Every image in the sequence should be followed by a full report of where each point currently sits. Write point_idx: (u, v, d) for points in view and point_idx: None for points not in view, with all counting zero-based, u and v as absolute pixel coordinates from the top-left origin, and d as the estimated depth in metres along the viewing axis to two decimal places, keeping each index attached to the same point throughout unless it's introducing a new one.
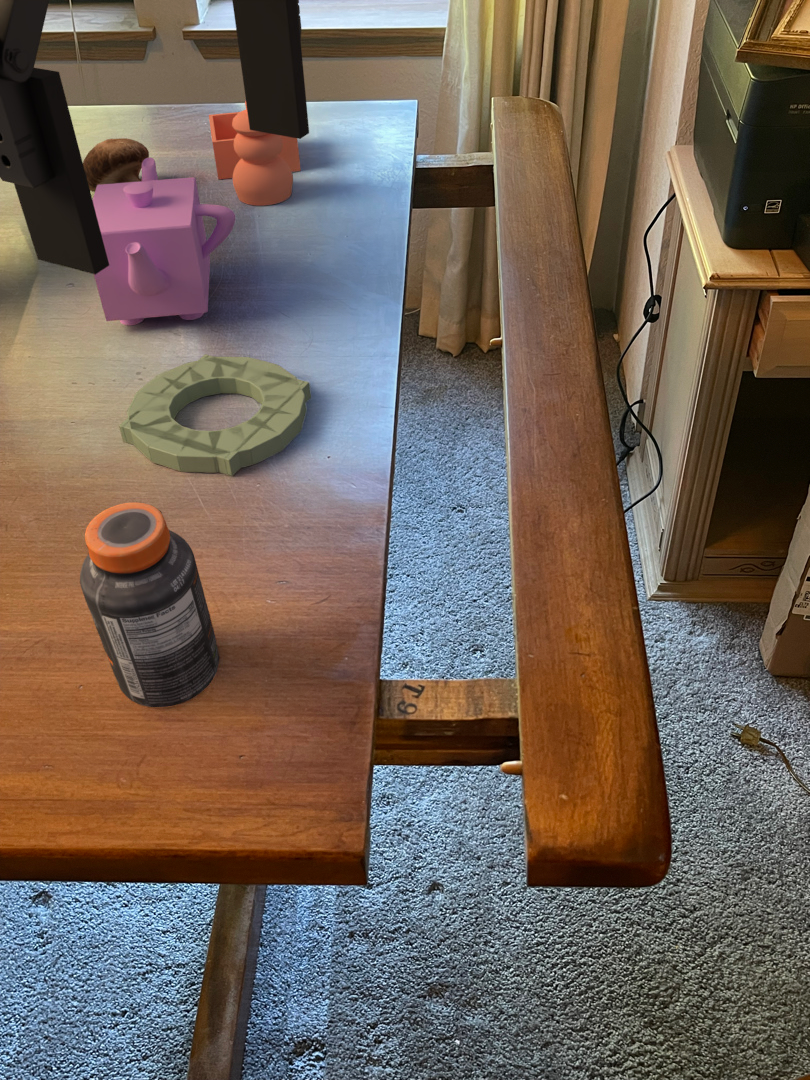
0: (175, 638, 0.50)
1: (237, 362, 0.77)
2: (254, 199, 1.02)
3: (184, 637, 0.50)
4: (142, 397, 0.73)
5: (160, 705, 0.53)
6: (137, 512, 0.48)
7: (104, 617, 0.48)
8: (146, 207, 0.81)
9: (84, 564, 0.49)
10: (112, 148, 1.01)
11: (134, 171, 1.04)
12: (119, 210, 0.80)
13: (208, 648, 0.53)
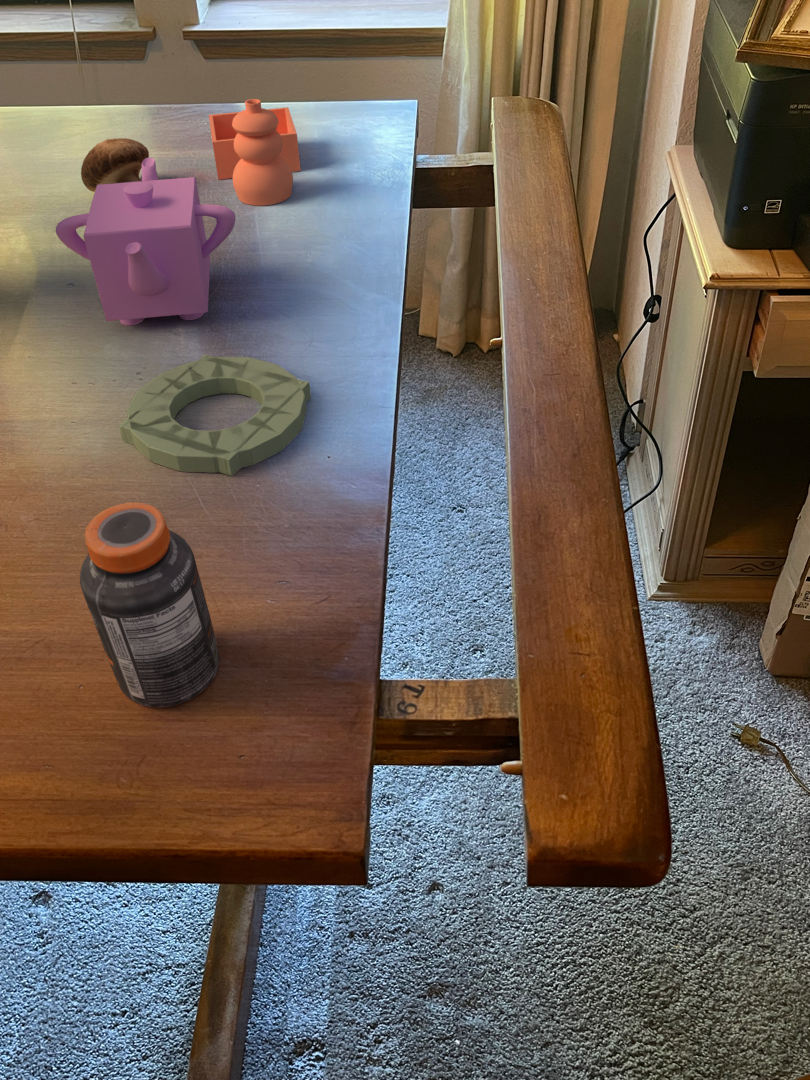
0: (175, 638, 0.50)
1: (237, 362, 0.77)
2: (254, 199, 1.02)
3: (184, 637, 0.50)
4: (142, 397, 0.73)
5: (160, 705, 0.53)
6: (137, 512, 0.48)
7: (104, 617, 0.48)
8: (146, 207, 0.81)
9: (84, 564, 0.49)
10: (112, 148, 1.01)
11: (134, 171, 1.04)
12: (119, 210, 0.80)
13: (208, 648, 0.53)
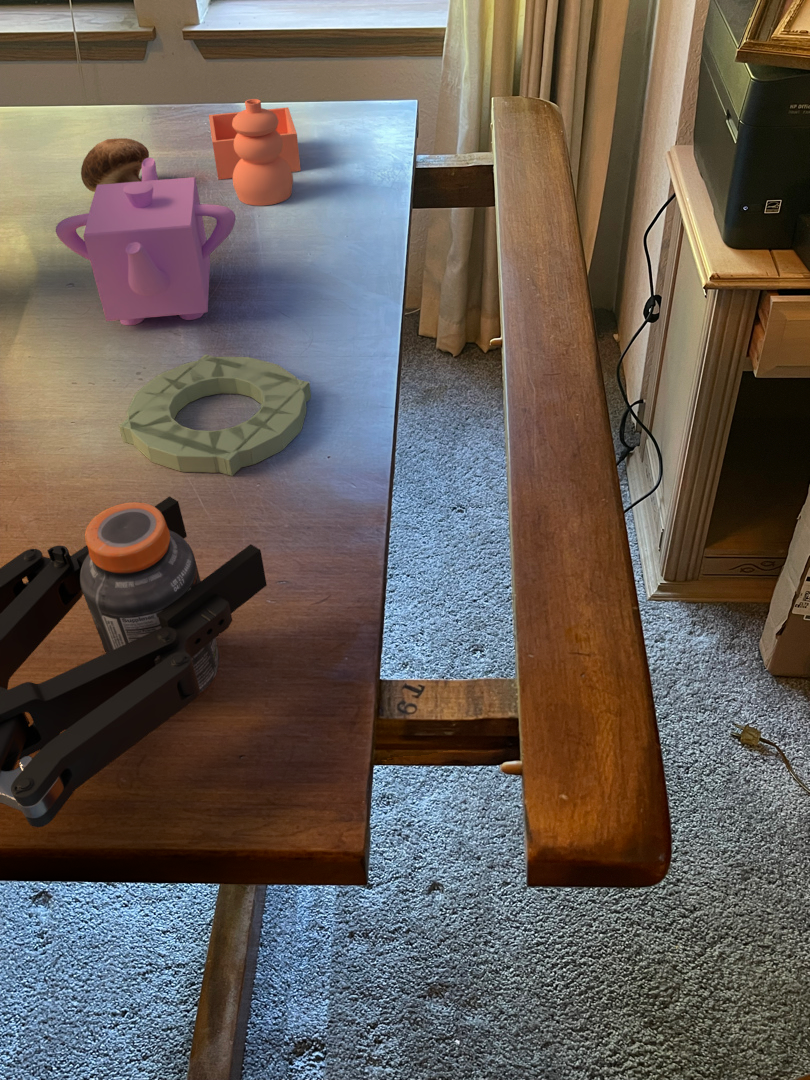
0: None
1: (237, 362, 0.77)
2: (254, 199, 1.02)
3: None
4: (142, 397, 0.73)
5: None
6: (138, 512, 0.48)
7: (104, 617, 0.48)
8: (146, 207, 0.81)
9: (84, 564, 0.49)
10: (112, 148, 1.01)
11: (134, 171, 1.04)
12: (119, 210, 0.80)
13: (208, 648, 0.53)
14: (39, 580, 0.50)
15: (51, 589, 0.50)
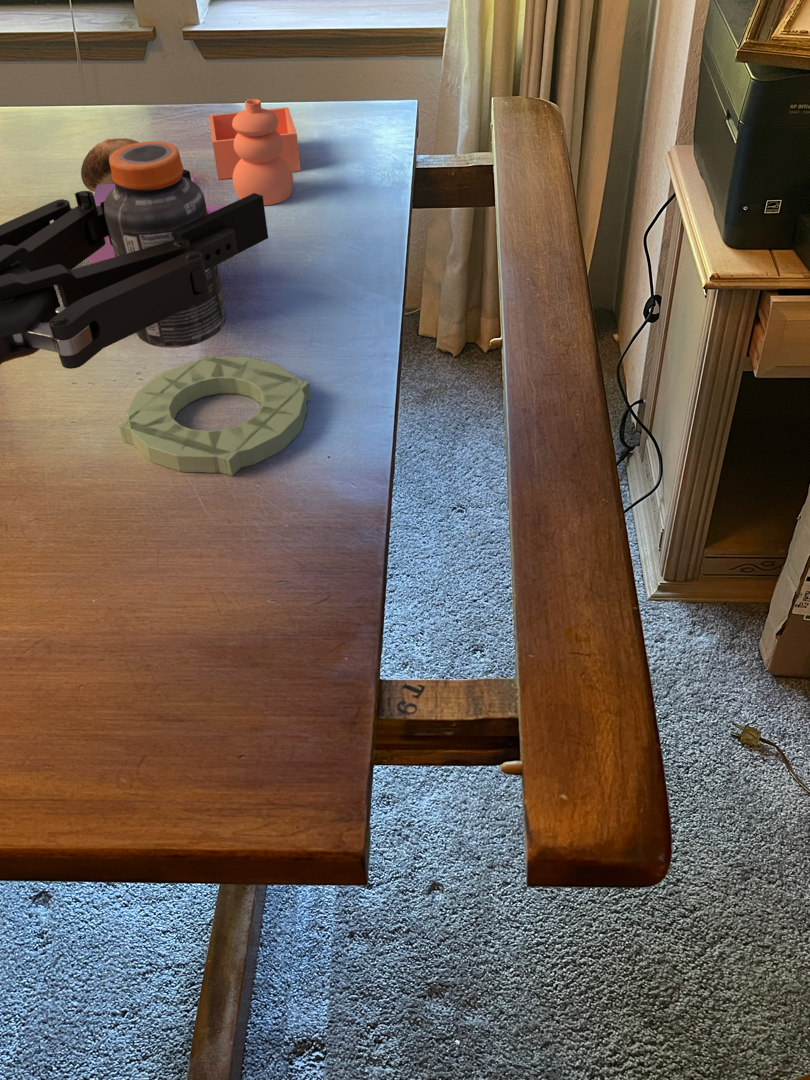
0: None
1: (237, 362, 0.77)
2: None
3: None
4: (142, 397, 0.73)
5: (173, 344, 0.59)
6: (155, 145, 0.55)
7: (125, 237, 0.55)
8: None
9: None
10: (112, 148, 1.01)
11: None
12: None
13: (216, 293, 0.59)
14: (67, 216, 0.57)
15: (78, 222, 0.56)
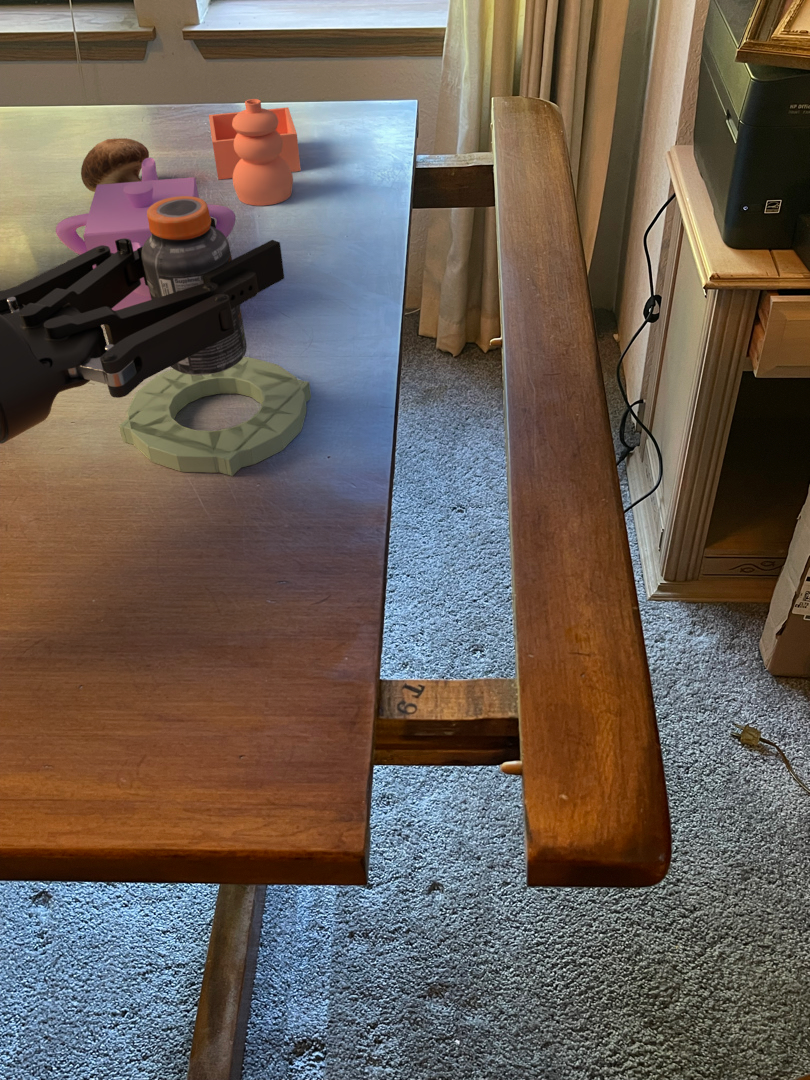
0: None
1: None
2: (254, 199, 1.02)
3: None
4: (142, 397, 0.73)
5: (201, 371, 0.67)
6: (186, 200, 0.63)
7: (160, 280, 0.63)
8: (146, 207, 0.81)
9: (145, 243, 0.63)
10: (112, 148, 1.01)
11: (134, 171, 1.04)
12: (119, 210, 0.80)
13: (238, 327, 0.67)
14: (109, 261, 0.64)
15: (119, 267, 0.64)
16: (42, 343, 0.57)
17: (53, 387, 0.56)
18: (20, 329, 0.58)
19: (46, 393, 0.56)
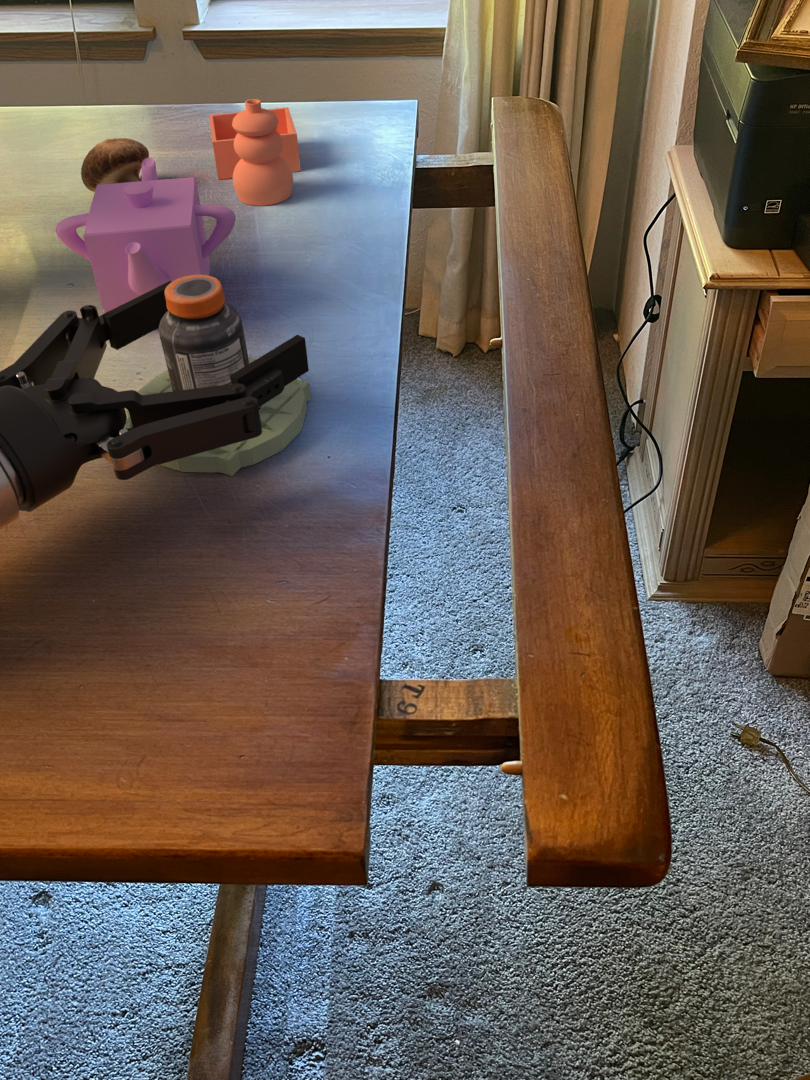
0: (227, 376, 0.68)
1: None
2: (254, 199, 1.02)
3: None
4: None
5: None
6: (201, 279, 0.66)
7: (177, 355, 0.66)
8: (146, 207, 0.81)
9: (162, 319, 0.67)
10: (112, 148, 1.01)
11: (134, 171, 1.04)
12: (119, 210, 0.80)
13: None
14: (82, 328, 0.69)
15: (94, 332, 0.69)
16: (67, 417, 0.60)
17: (77, 460, 0.59)
18: (45, 402, 0.62)
19: (71, 466, 0.59)
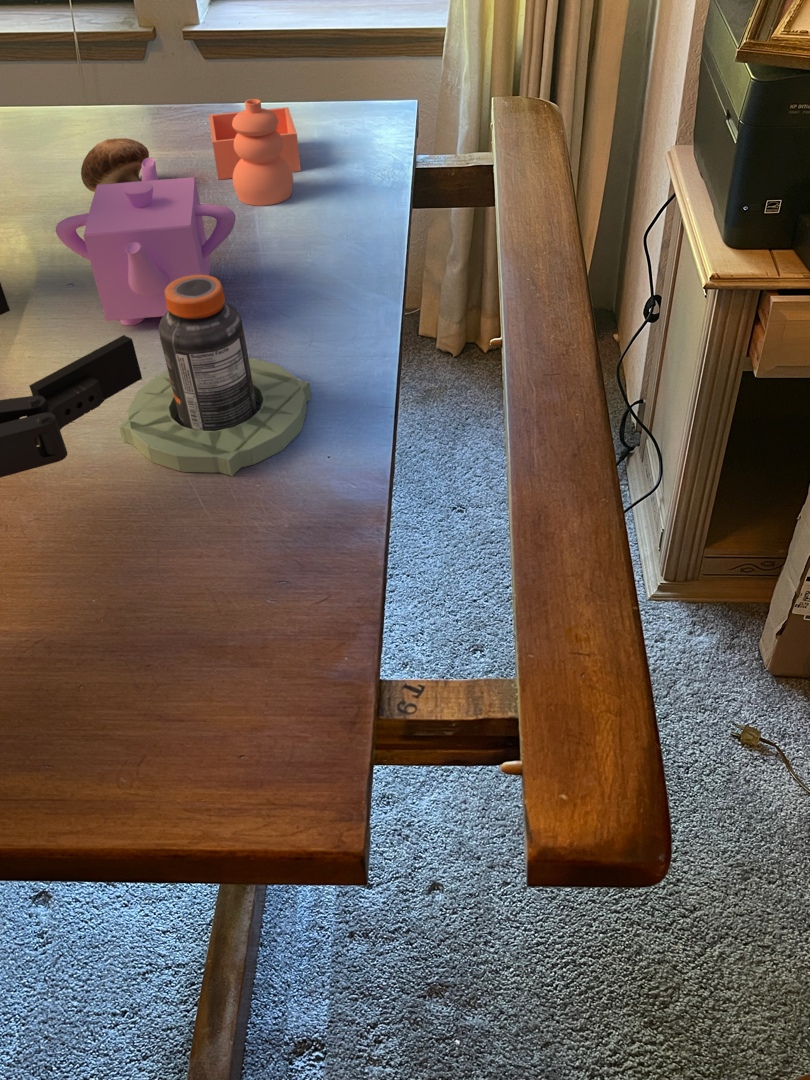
0: (227, 376, 0.68)
1: None
2: (254, 199, 1.02)
3: (233, 377, 0.68)
4: (142, 397, 0.73)
5: None
6: (201, 279, 0.66)
7: (177, 355, 0.66)
8: (146, 207, 0.81)
9: (162, 319, 0.67)
10: (112, 148, 1.01)
11: (134, 171, 1.04)
12: (119, 210, 0.80)
13: (250, 394, 0.71)
14: None
15: None
16: None
17: None
18: None
19: None
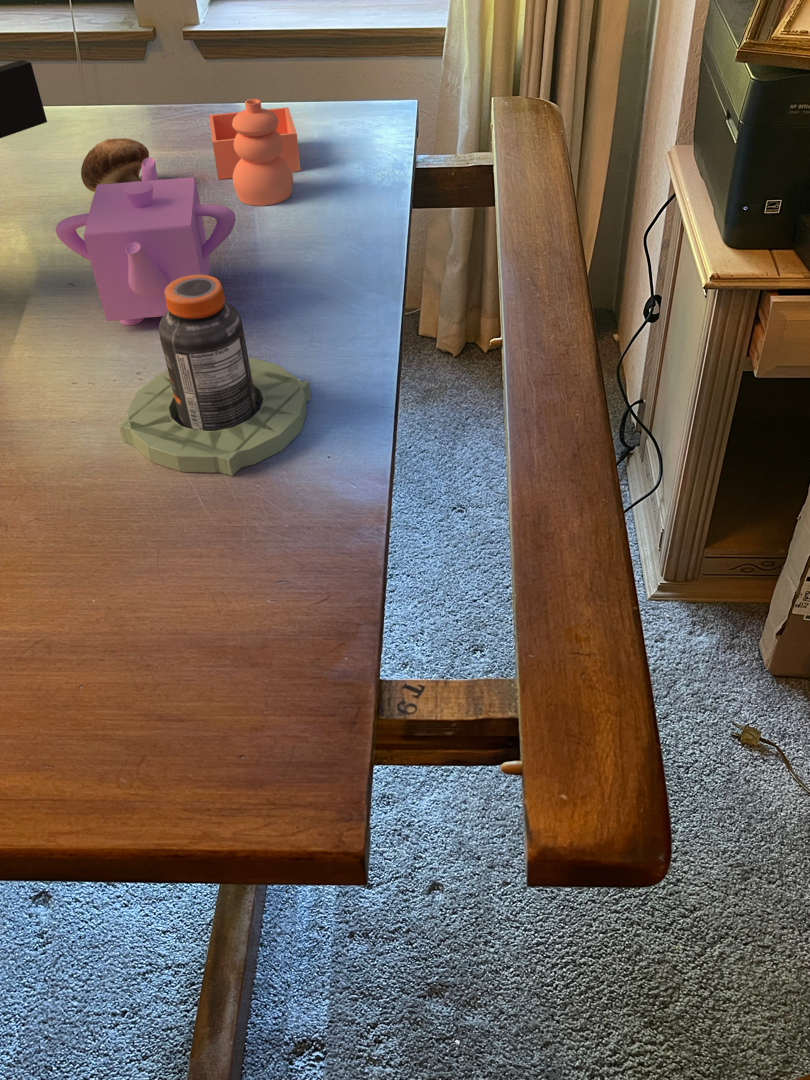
0: (227, 376, 0.68)
1: None
2: (254, 199, 1.02)
3: (233, 377, 0.68)
4: (142, 397, 0.73)
5: None
6: (201, 279, 0.66)
7: (177, 355, 0.66)
8: (146, 207, 0.81)
9: (162, 319, 0.67)
10: (112, 148, 1.01)
11: (134, 171, 1.04)
12: (119, 210, 0.80)
13: (250, 394, 0.71)
14: None
15: None
16: None
17: None
18: None
19: None
